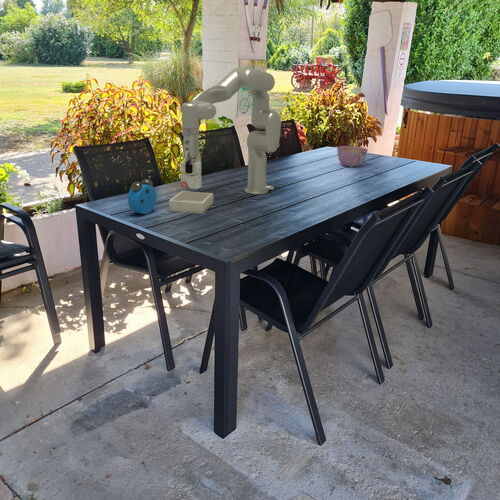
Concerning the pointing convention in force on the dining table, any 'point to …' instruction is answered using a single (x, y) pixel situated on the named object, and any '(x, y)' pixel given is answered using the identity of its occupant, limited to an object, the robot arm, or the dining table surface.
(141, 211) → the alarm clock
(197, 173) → the ink cartridge box
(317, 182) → the dining table surface
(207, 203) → the cream square tray
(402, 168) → the dining table surface
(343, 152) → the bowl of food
